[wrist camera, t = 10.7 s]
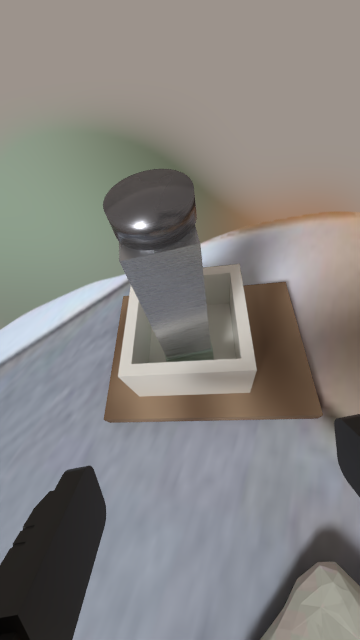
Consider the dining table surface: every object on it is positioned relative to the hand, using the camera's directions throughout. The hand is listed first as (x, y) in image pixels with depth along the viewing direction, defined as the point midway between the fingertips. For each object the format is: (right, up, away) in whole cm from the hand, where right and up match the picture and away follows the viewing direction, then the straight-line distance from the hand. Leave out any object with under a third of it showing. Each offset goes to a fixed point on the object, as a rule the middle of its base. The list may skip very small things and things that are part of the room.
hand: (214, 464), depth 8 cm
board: (+1, +2, +14) cm, 14 cm away
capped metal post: (0, +3, +13) cm, 13 cm away
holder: (0, +3, +13) cm, 14 cm away
